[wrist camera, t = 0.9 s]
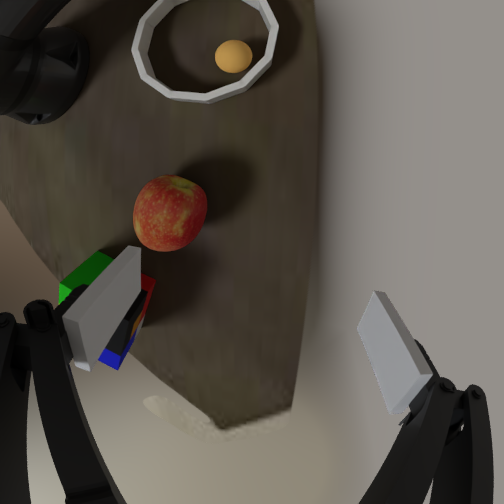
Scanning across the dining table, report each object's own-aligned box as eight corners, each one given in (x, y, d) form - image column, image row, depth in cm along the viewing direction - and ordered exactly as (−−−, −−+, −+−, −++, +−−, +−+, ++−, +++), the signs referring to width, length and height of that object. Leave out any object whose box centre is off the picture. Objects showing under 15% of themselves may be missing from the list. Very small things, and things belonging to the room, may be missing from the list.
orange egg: (211, 63, 27) (204, 55, 24) (233, 40, 26) (229, 28, 22) (237, 82, 28) (233, 75, 24) (260, 58, 27) (259, 49, 23)
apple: (221, 190, 33) (209, 206, 26) (193, 247, 36) (176, 276, 29) (163, 161, 32) (136, 170, 25) (140, 220, 35) (112, 242, 28)
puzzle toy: (141, 327, 42) (117, 370, 33) (89, 300, 41) (58, 336, 32) (156, 279, 39) (128, 321, 29) (97, 250, 37) (59, 282, 28)
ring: (120, 62, 27) (108, 57, 24) (203, -26, 22) (198, -37, 19) (213, 128, 30) (208, 128, 28) (303, 34, 25) (307, 26, 22)
